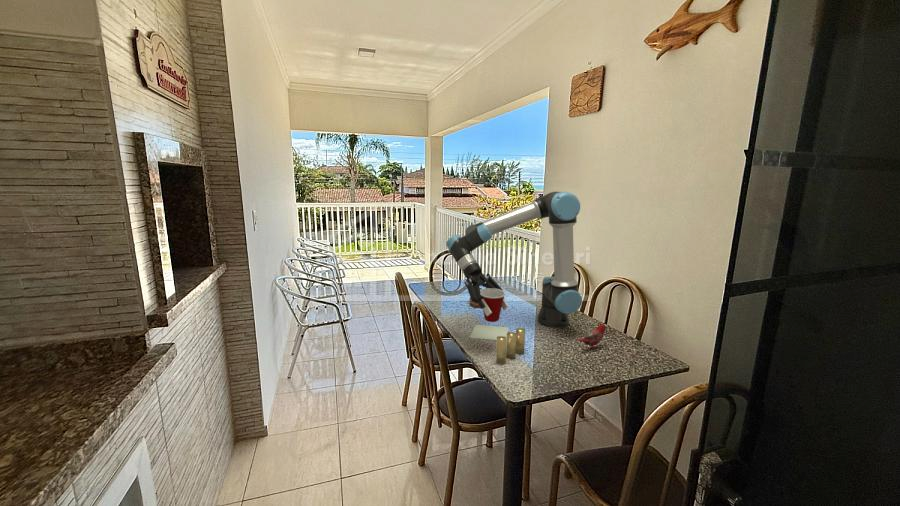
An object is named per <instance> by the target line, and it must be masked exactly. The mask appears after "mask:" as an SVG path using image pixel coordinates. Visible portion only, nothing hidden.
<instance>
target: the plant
mask: <svg viewBox="0 0 900 506" xmlns="http://www.w3.org/2000/svg"><path fill="white" fill-rule="evenodd" d="M482 289H483V288H481V287H480V290H482ZM469 306H470V307H471V308H474V309H481V307H480V306H479V304H478V303H477V304H476V303H475V302H472V300H471V297H470V296H469Z"/></svg>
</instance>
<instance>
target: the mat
mask: <svg viewBox="0 0 900 506" xmlns="http://www.w3.org/2000/svg"><path fill="white" fill-rule="evenodd" d="M509 330H510V329H509V327H508V326H497V325H486V324H485V325H484V324H475V325H474V328H473V329H472V332H471V334H470V336H469V339H470V340H471V339H474V340H484V341H496V342H497V337H498V336H504V337H506V339H507V333H508V332H509Z"/></svg>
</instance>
